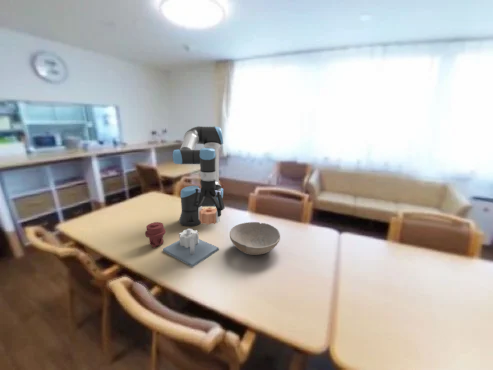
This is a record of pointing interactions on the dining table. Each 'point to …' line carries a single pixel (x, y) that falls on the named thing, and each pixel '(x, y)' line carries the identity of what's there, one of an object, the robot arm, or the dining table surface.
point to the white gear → (188, 238)
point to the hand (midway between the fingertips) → (209, 220)
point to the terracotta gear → (208, 215)
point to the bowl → (254, 237)
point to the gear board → (186, 255)
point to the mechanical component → (155, 233)
